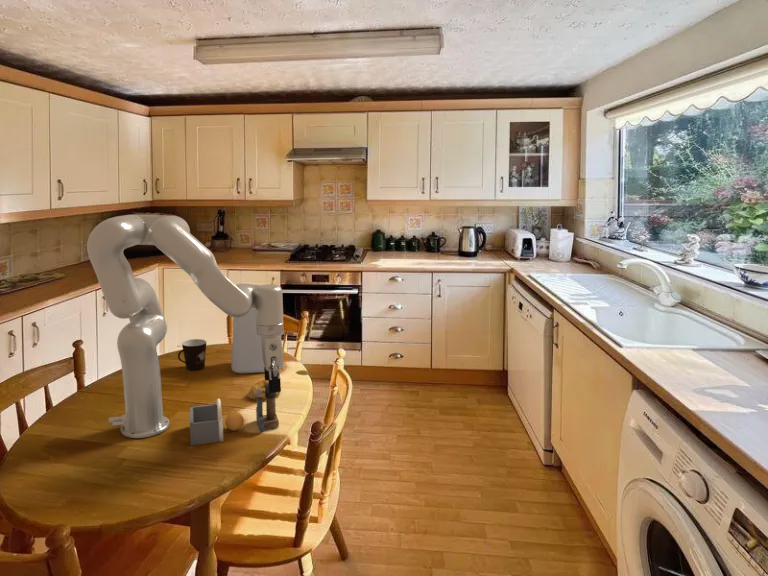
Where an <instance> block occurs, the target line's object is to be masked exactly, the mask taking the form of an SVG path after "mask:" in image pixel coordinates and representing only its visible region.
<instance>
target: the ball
mask: <svg viewBox="0 0 768 576" xmlns="http://www.w3.org/2000/svg"><path fill="white" fill-rule="evenodd" d="M244 421H245V419H244V418H243V416H242V414H240V413H239V412H232V413H229V414H228V415H227V417H226V418H225V426H226V428H227V429H228V430H229V431H236V432H237V431H239V430H241V428H242V427H243V425H244Z"/></svg>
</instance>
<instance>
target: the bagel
mask: <svg viewBox="0 0 768 576" xmlns="http://www.w3.org/2000/svg"><path fill="white" fill-rule="evenodd" d="M267 384H269V380H265V378H263V379H260V380H258V381H257V382H256V383H255V384H254V385H253V386H251V387H250V389H249V391H248V392H247V398H249V399H251V400H253V401H257V397H256V396H255V394H254V392H255V390H256V389H257V388H262V389H263V390H264V396H263V397H262V402H264V401H265V400H266V397H265V385H267ZM281 392H282V390H281V391H280V392H276V397H277V398H278V397H279V396H280V394H281ZM276 397H275V399H277V398H276ZM265 402H266V401H265Z"/></svg>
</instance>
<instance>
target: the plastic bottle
mask: <svg viewBox="0 0 768 576" xmlns="http://www.w3.org/2000/svg"><path fill="white" fill-rule="evenodd" d="M232 323H233V326H232V347H231V370H232V372H234V373H236V374H258V373H259V374H260V373H262V374H263V373H264V367H265V366H264V363H263V358H262V347H261V337H260V336H257V331H256V310H255V308H252V309H251V310H250V311H249V312H248V313H247V314H246V315H245V316H243V317H233V322H232Z"/></svg>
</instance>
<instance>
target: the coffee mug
mask: <svg viewBox="0 0 768 576" xmlns="http://www.w3.org/2000/svg"><path fill="white" fill-rule="evenodd" d="M181 345H182V349H181V350H180V351H179V352H178V354H177V359H178V360H179V361H180V362H181V363H183V364H185V369H186V370H187V371H189V372H197V371H201V370H204V369H205V367H206V354H207V353H206V351H207V340H205V339H199V338H198V339H197V338H196V339H195V338H194V339H193V338H192V339H186V340H183V342H182V343H181ZM182 353H183V357H184V360H182V359H181V357H180V356H181V354H182Z"/></svg>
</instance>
